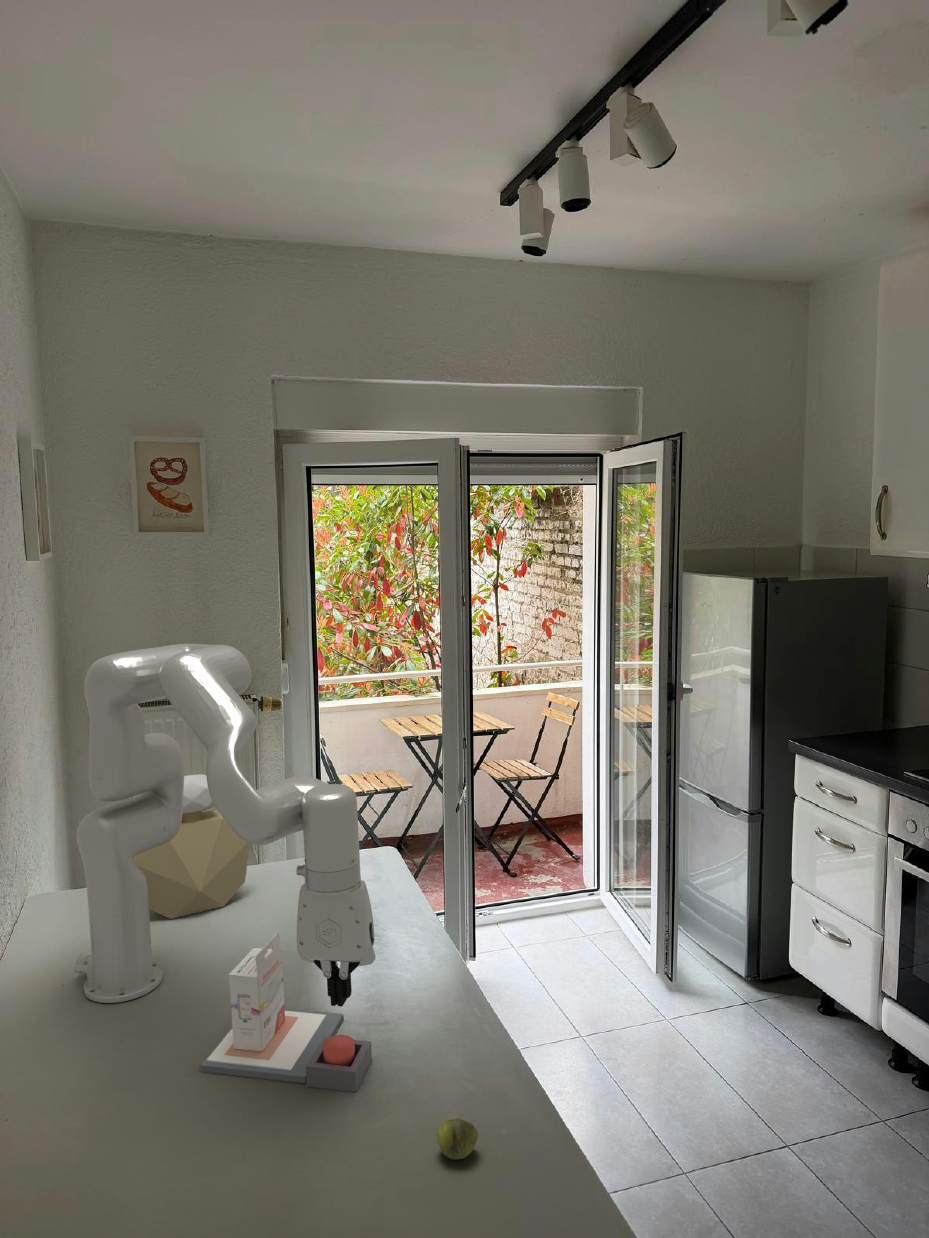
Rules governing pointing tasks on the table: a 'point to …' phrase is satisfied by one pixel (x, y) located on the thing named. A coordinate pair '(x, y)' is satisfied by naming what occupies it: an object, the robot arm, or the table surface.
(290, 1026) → the sketch board
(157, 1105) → the table surface
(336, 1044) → the button
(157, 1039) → the table surface
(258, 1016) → the ink cartridge box
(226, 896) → the perfume bottle
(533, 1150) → the table surface
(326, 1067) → the button housing
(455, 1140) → the lime
